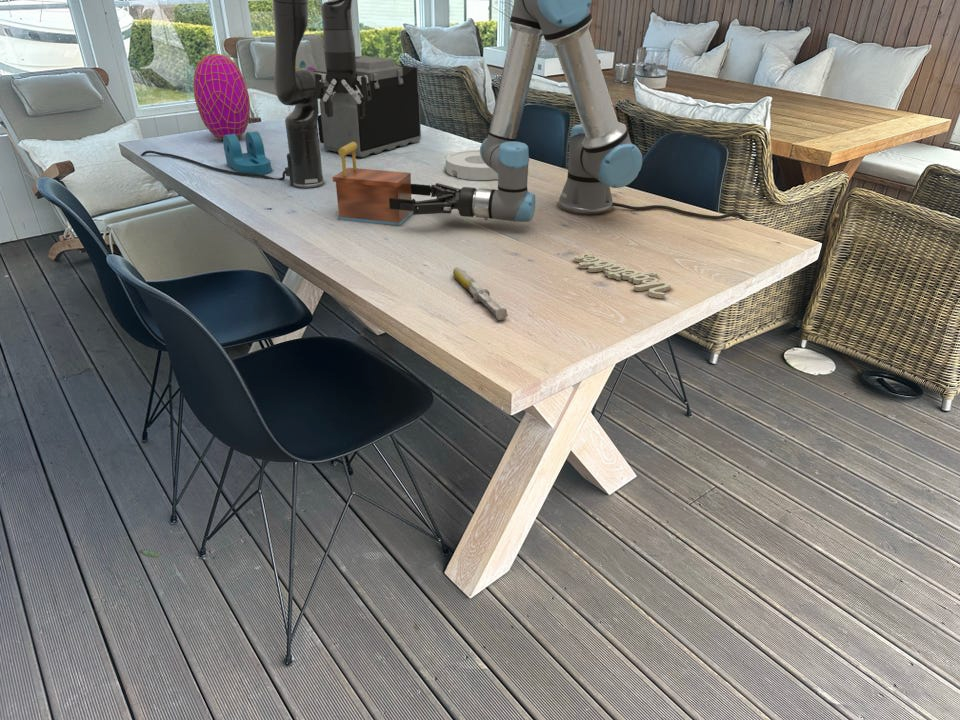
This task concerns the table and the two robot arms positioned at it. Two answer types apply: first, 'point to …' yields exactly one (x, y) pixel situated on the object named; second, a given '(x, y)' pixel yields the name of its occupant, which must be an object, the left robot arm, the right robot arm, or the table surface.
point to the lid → (367, 172)
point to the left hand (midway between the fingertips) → (345, 117)
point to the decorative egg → (221, 96)
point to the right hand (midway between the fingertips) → (398, 195)
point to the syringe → (479, 293)
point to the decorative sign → (625, 274)
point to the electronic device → (374, 110)
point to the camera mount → (246, 154)
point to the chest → (372, 202)
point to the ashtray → (469, 166)
